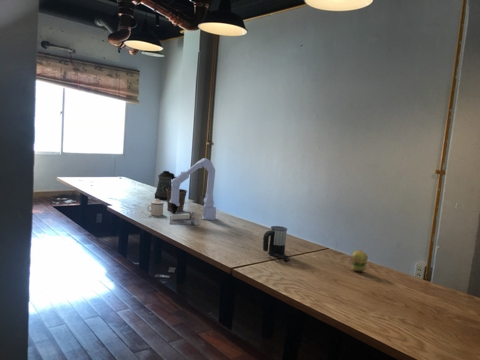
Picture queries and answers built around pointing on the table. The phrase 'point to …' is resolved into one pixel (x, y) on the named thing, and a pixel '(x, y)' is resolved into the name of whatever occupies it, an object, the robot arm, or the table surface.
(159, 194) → the beer stein
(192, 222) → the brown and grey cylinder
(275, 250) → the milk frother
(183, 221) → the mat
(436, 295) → the table surface
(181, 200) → the plant pot
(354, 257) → the hamburger
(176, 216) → the white long block
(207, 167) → the robot arm
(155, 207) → the teacup with lid
